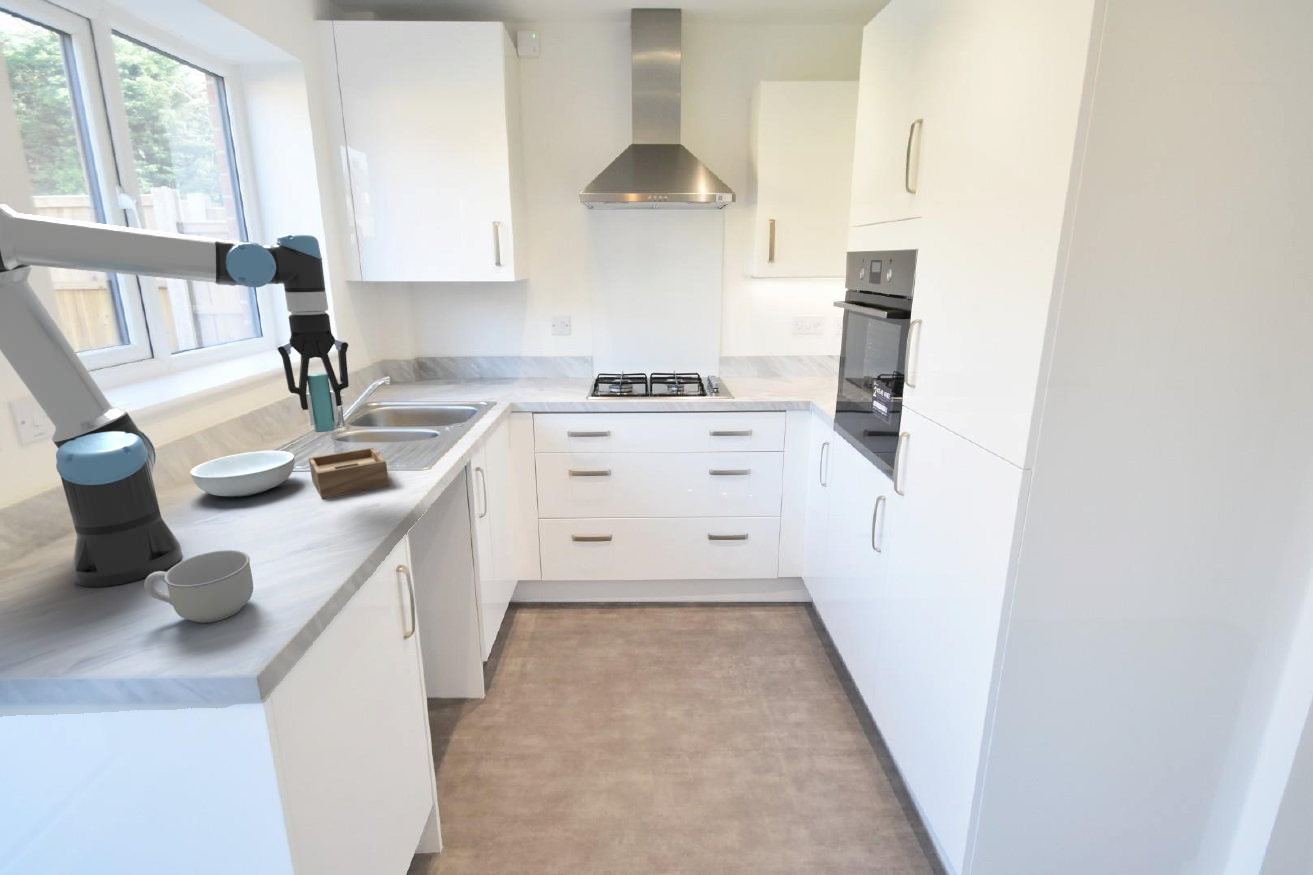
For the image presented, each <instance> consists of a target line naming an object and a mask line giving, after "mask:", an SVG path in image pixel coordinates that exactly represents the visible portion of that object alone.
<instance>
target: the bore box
mask: <svg viewBox="0 0 1313 875" xmlns="http://www.w3.org/2000/svg"><path fill="white" fill-rule="evenodd" d="M308 464H309V468H310V473H311V474H310V475H311V481H312V483H313V486H314V487H315V488H316V491H317V493H318V494H319V497H320V498H321V499H327V498H332V497H338V496H341V495H346V494H347V495H348V494H352V493H358V492H363V491H364V492H365V491H368V490H374V489H377V488H384V487H388V486H389V487H390V482H389V476H388V467H387V466H388V465H387V460H385V459H384V458H383V456H381V454H380V453H378V452H377V451H376V449H375V448H373V447H368V448H363V449H356V450H351V451H350V450H349V451H343V452H339V453H338V452H337V453H332V454H325V455H319V456H312V457H308Z"/></svg>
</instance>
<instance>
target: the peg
mask: <svg viewBox="0 0 1313 875" xmlns="http://www.w3.org/2000/svg"><path fill="white" fill-rule="evenodd" d="M307 389H308V393H309V394H310V395H311V401H312V408H313V415H314V422H315V425H313V427H314V428H313V430H314V432H316V433H328V432H332V431H335V430H336V426H335V425H336V424H335V422H334V417H333V409H332V402H331V395H330V391H331V387H330V381H329V378H328V374H327V373H312V374H308V379H307Z"/></svg>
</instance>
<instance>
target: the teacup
mask: <svg viewBox="0 0 1313 875" xmlns="http://www.w3.org/2000/svg"><path fill="white" fill-rule="evenodd" d="M250 561H251V560H250V556H249V555H248V554H247V553H246V552H243V551H240V550H233V549H225V550H224V549H223V550H222V549H221V550H214V551H209V552H204V553H201V554H197V555H194V556H191V557H188V558H187V559H184V560H182V561H180V562H177V563H176V564H174V565H173V566H171V567H170V569H167V571H165V570H164V571H157V572H154V573H152V574H150V575H149V576H148V577H146V578H145V580H144V583H143V587H144V591H145V592H146V593H147V594H148V595H149V596H150V597H152V598H154V599H156V600H159V601H161V602H165V603H168V604H170V605H171V606H172V607H173V610H174V611H175V613H176V614H177V615H178V616H179V617H180V618H182V619H184V620H188V621H192V622H195V623H202V624H203V623H204V624H205V623H206V622H207V623H213V621H214V622H217V621H221V620H225V619H227V618H229V616H230V617H231V616H233V615H236V613H238V612H239V611H241V610H242V608H244V606H245V605H246V604H247V603H248V602H249V601H250V600H251V598H252V596H253V593H254V581H253V580H254V579H253V573H252V569H251V568H252V567H251V565H250ZM155 580H161V581H163V582H164V583H165V584H166V587H167V590H168V591H167V592H168V593H167V592H164V591H162V590H160V589H158V588H157V587H156V586H155V584H154V581H155ZM207 623H206V624H207Z"/></svg>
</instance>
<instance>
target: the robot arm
mask: <svg viewBox="0 0 1313 875" xmlns="http://www.w3.org/2000/svg"><path fill="white" fill-rule="evenodd" d="M319 244H320V243H319V241H318V238H317V237H315V236H314V235H310V234H280V235H278V236H277V238H276V244H269V245H267V244H266V245H264V244H263V245H262V244H259V243H257V242H251V241H242V242H241V241H236V240H226V239H216V238H212V237H205V236H197V235H195V236H194V235H188V234H187V235H186V234H182V233H172V232H167V231H166V232H164V231H157V230H151V229H149V230H148V229H142V228H140V229H139V228H135V227H126V226H118V225H109V224H103V223H96V222H95V223H94V222H88V221H80V220H72V219H71V220H70V219H65V218H56V217H49V216H41V215H34V214H27V213H26V214H24V213H18V212H16V211H15V210H13V209H12V208H10V206H8V205H6V204H0V352H1V353H2V354H3V357H4V358H5V359H6V360H7V362H8V363H9V364H10V366H11V367H12V369H13V370H14V372H15V373H16V374H17V376H18V378H19V379H20V380H21V381H22V382H23V384H24V385H25V387H26V388H27V389H28V391H29V392H30V393H31V395H32V397H34V399H35V400H36V402H37V403H38V405H39V406H40V408H41V409H42V410H43V412H44V413H45V414H46V415H47V417H48V419H49V420H50V421H51V422H52V424H53V425H54V426H55V428H54V433H53V435H52V438H51V441H52V442H53V443H54V445H55V446H56V447H57V451H56V454H55V458H56V465H55V467H56V471H57V473H58V475H59V476H60V479H61V484H62V487H63V490H64V494H65V498H66V501H67V504H68V507H69V512H70V515H71V516H70V517H71V520H72V523H73V527H74V530H75V534H76V540H75V546H74V553H73V560H72V566H71V571H72V576H73V578H74V582H75V583H76V584H77V585H79V586H81V587H82V586H83V587H88V588H89V587H90V588H96V587H97V588H100V587H111V586H117V585H122V584H127V583H130V582H131V583H132V582H135V581H139V580H142V579H146V578H147V577H148V576H149V575H150V574H152V573H154V572H157V571H164V572H165V570H169V568H170V569H171V568H172V567H173V566H175V565H176V564H178V563H179V561H180V560H181V559H182V558H183V552H182V547H181V544H180V542H179V540H178V539H177V537H176V536H175V535H174V533H173V531H172V530H171V528H170V527H169V526H168V525H167V524H166V522H165V521H164V519H163V517H162V515H161V511H160V510H161V509H160V506H159V502H158V498H157V493H156V490H155V489H156V488H155V484H154V479H153V471H154V466H155V464H156V451H155V447H154V444H153V442H152V440H151V439H150V438H149V437H148V436H147V435H146V434H145V433H144V432H143V431H141V430H140V429H139V428H138V427H137V425H136V423H135V422H134V421H133V419H132V418H131V416H130V414H129V413H128V412H127V411H126V410H125V409H121V408H118V407H114V406H112V405H111V403H110V402H109V401H108V399H107V398H106V396H105V395H104V393H103V391H102V390H101V389H100V387H99V386H98V384H97V382H96V381H95V379H94V378H93V377H92V375H91V374H90V372H89V371H88V369H87V368H86V366H85V365H84V363H83V362H82V361H81V359H80V357H79V356H78V355H77V353H76V352H75V350H74V349H73V347H72V346H71V345H70V343H69V341H68V340H67V338H66V337H65V335H64V333H63V332H62V331H61V328H59V326H58V324H57V323H56V322H55V321H54V318H53V317H52V316H51V314H50V313H49V311H48V310H47V308H46V306H45V305H44V304H43V303H42V301H41V299H40V298H39V297H38V295H37V293H36V292H35V290H34V289H33V287H32V286H31V285H30V283H29V282H28V281H29V280H28V279H29V276H30V273H31V270H32V267H31V266H35V267H44V268H45V267H46V268H47V267H48V268H56V269H67V270H78V271H89V272H99V273H107V274H108V273H109V274H119V275H120V274H121V275H130V276H141V277H152V278H164V279H174V280H185V281H195V282H205V283H206V282H207V283H214V284H216V285H218V286H220V285H222V286H233V287H234V286H244V287H248V288H261V287H264V286H266V285H279V284H281V285H282V284H283V287H284V294H285V295H284V296H285V300H286V308H287V311H288V313H291V314H289V316H288V323H289V328H290V337H289V341H288V342H287V343H286V342H285V343H284V344H278V346H277V347H276V350H277V351H278V353H279V354H280V356H281V359H282V364H283V368H284V373H285V379H286V383H287V384H286V385H287V388H288V391H289V392H290V393H291V394H296V395H298V396H299V404H300V407H301V409H302V411H307V417H308V424H309V425H310V426H314V425H315V422H314V415H313V408H312V401H311V395H310V394H309V392H308V393H307V390H308V381H307V379H308V375H309V367H310V366H309V364H310V359H314V358H320V359H321V362H322V364H323V367H324V370H325V374H328V380H329V385H330V386H331V389H332V390H330V395H331V402H332V409H333V417H334V424H335V423H339V415H338V414H339V413H338V407H342V404H343V403H342V394H341V391H342V390H344V389H347V388H349V373H348V371H349V370H348V363H347V362H348V361H347V351H348V348H349V344H348V342H346V341H345V340H344V341H343V340H338V339H336V337H335V336H334V335H333V333H332V328H331V327H332V326H331V320H330V314H328V310H329V304H328V298H327V291H326V284H325V283H326V282H325V276H324V275H325V274H324V267H323V258H322V254H321V248H320V245H319ZM326 311H327V312H326ZM334 345H335V349H336V350H337V356H338V369H339V370H338V371H339V378H340V379H339V380H340V382H338V379H337V376H336V374H335V371H334V369H333V366H332V363H331V360H330V356H329V353H330V351H331V350H332V348H333V346H334ZM291 348H293V349H294V350H295V351H296V352H297V353H298V354H299V355H300V364H299V365H300V368H299V377H298V380H299V381H298V386H296V382H295V377H294V373H293V367H292V361H291V357H290V355H291V353H292V351H291Z"/></svg>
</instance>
